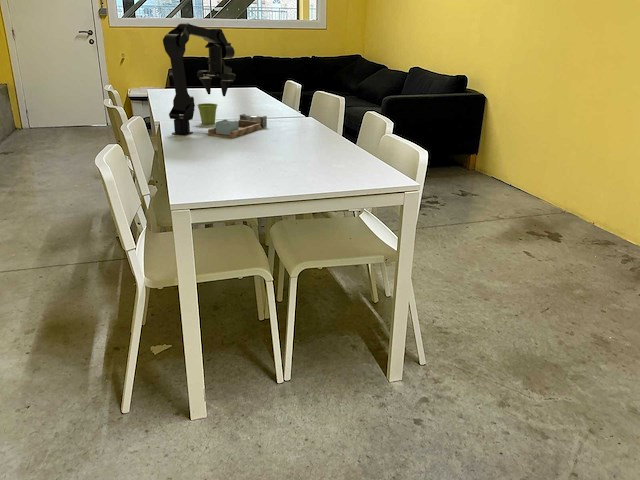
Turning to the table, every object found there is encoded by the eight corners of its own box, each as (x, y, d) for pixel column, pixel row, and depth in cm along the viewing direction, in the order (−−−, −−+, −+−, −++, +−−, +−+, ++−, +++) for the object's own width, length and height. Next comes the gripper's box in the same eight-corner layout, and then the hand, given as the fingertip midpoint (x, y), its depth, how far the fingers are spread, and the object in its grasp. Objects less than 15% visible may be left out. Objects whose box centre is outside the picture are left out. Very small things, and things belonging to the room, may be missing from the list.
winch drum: (262, 128, 242) (262, 117, 240) (239, 125, 246) (239, 114, 245) (267, 126, 246) (267, 116, 244) (244, 124, 250) (244, 113, 248)
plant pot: (214, 125, 245) (213, 106, 242) (195, 124, 247) (194, 105, 243) (221, 122, 254) (220, 103, 251) (202, 121, 255) (201, 102, 252)
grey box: (230, 135, 222) (229, 123, 221) (215, 133, 225) (215, 121, 223) (238, 132, 228) (238, 120, 227) (224, 130, 231) (224, 119, 229)
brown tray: (232, 138, 220) (232, 130, 219) (208, 135, 224) (207, 127, 223) (260, 129, 241) (260, 121, 239) (237, 126, 245) (237, 119, 244)
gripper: (243, 59, 235) (244, 96, 241) (213, 57, 245) (214, 92, 250) (226, 60, 227) (227, 97, 232) (195, 57, 236) (196, 93, 242)
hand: (216, 95), depth 239 cm, fingers open, 9 cm apart
